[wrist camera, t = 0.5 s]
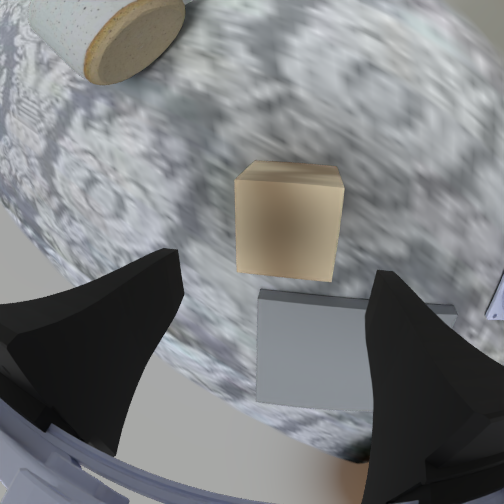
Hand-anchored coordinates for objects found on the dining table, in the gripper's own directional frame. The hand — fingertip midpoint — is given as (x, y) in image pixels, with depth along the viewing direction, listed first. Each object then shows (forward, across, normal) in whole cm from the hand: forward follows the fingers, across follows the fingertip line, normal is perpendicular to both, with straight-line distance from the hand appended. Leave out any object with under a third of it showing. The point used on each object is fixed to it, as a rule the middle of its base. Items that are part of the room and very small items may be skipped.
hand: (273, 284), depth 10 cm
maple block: (+9, 0, 0) cm, 9 cm away
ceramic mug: (+10, +10, -14) cm, 20 cm away
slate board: (+9, -6, +14) cm, 18 cm away
